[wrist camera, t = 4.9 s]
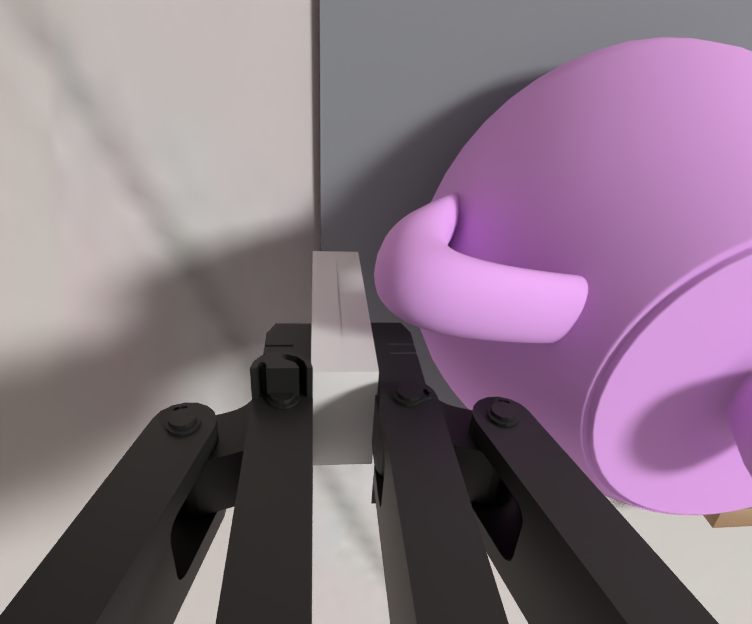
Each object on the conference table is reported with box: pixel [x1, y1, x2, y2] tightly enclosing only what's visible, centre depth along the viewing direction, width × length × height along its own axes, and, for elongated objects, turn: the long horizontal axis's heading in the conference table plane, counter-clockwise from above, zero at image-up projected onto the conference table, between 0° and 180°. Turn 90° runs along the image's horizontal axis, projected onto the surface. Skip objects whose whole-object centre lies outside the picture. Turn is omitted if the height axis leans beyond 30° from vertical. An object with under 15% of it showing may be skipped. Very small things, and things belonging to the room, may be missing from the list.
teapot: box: [374, 37, 752, 515], centre depth 15 cm, size 14×20×11 cm
